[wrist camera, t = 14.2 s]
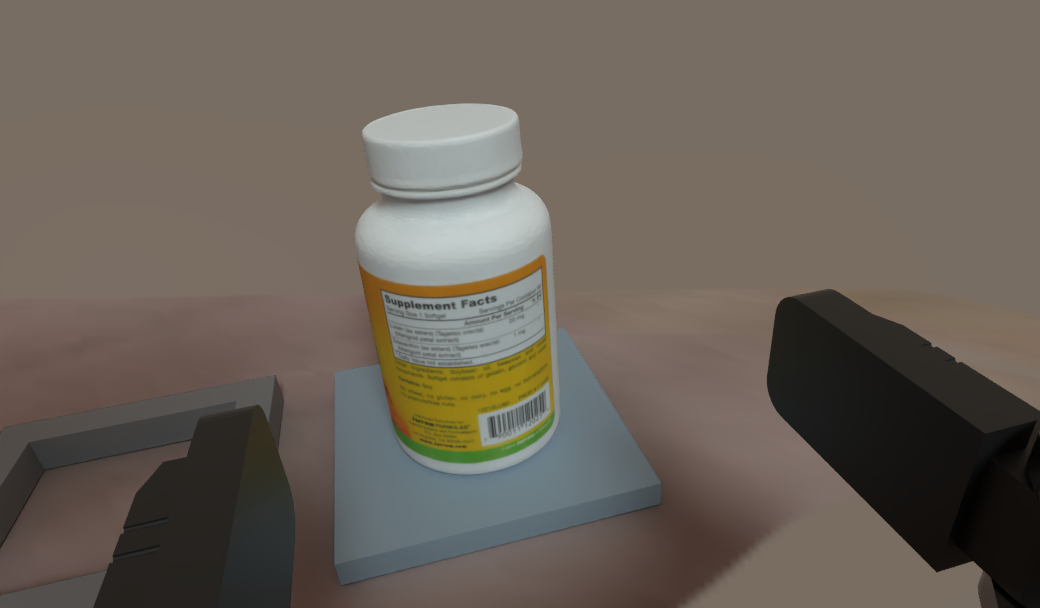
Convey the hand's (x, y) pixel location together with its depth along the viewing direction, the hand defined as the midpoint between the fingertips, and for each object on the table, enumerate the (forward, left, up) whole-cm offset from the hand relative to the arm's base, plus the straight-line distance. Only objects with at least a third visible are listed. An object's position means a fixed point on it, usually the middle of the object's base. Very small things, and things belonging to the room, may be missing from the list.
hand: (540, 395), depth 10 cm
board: (0, +9, -8) cm, 12 cm away
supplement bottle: (0, +9, -7) cm, 12 cm away
